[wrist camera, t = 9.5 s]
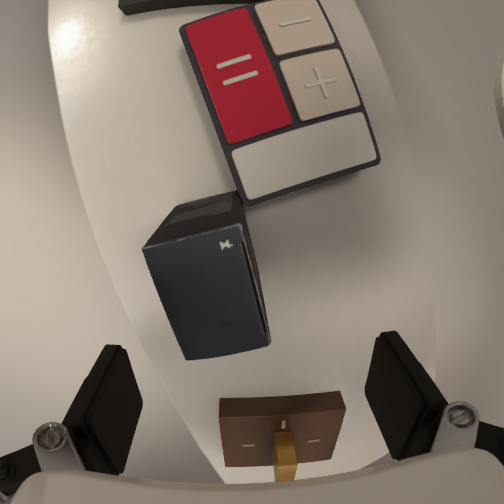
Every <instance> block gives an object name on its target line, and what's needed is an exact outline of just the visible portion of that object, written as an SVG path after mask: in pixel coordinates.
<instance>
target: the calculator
mask: <svg viewBox="0 0 504 504" xmlns="http://www.w3.org/2000/svg"><path fill="white" fill-rule="evenodd" d="M179 32H180V35H181V38H182V41H183V43H184V46H185V49H186V51H187V54H188V57H189V59H190V62H191V65H192V67H193V70H194V73H195V75H196V78H197V81H198V84H199V86H200V89H201V92H202V94H203V97H204V100H205V102H206V105H207V108H208V111H209V113H210V116H211V119H212V121H213V124H214V127H215V130H216V132H217V135H218V138H219V141H220V143H221V146H222V149H223V151H224V154H225V157H226V160H227V162H228V165H229V168H230V171H231V173H232V176H233V179H234V182H235V184H236V187H237V190H238V193H239V195H240V198H241V201H242V203H243V204H244V205H245V206H252V205H255V204H258V203H261V202H264V201H267V200H269V199H272V198H275V197H278V196H281V195H284V194H287V193H290V192H293V191H296V190H299V189H302V188H305V187H308V186H311V185H314V184H318V183H321V182H324V181H327V180H330V179H333V178H336V177H339V176H343V175H346V174H349V173H352V172H356V171H359V170H362V169H365V168H369V167H372V166H375V165H378V164H379V163H380V161H381V158H380V154H379V150H378V147H377V144H376V140H375V137H374V134H373V131H372V128H371V125H370V121H369V118H368V115H367V112H366V110H365V107H364V104H363V101H362V98H361V95H360V93H359V90H358V87H357V85H356V82H355V79H354V77H353V74H352V72H351V69H350V67H349V64H348V62H347V59H346V57H345V55H344V52H343V50H342V48H341V45H340V43H339V41H338V39H337V36H336V34H335V32H334V30H333V28H332V26H331V23H330V21H329V19H328V17H327V15H326V13H325V11H324V9H323V7H322V5H321V3H320V1H319V0H264V1H260V2H256V3H252V4H248V5H244V6H240V7H237V8H233V9H230V10H226V11H223V12H220V13H216V14H213V15H210V16H207V17H204V18H201V19H198V20H196V21H193V22H190V23H187V24H185V25H182V26H181V27H180V29H179Z"/></svg>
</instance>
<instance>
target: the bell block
mask: <svg viewBox="0 0 504 504" xmlns="http://www.w3.org/2000/svg"><path fill="white" fill-rule="evenodd" d="M260 1H264V0H119V3H118V7H119V8H120V9H121V11H122V12H123V13H124V14H125V15H130V14H135V13H141V12H147V11H153V10H159V9H167V8H174V7H183V6H194V5H207V4H227V3H256V2H260Z"/></svg>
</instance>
